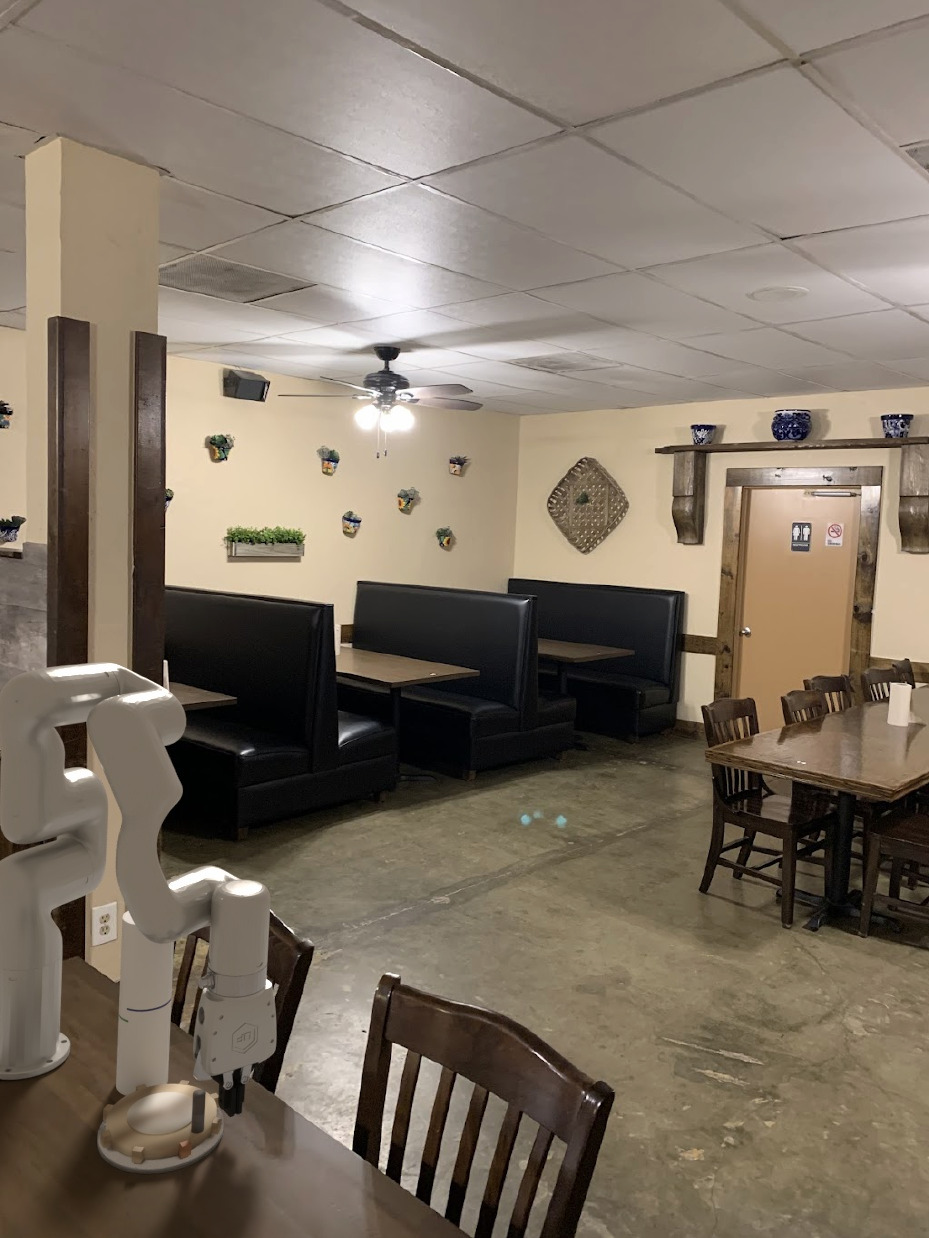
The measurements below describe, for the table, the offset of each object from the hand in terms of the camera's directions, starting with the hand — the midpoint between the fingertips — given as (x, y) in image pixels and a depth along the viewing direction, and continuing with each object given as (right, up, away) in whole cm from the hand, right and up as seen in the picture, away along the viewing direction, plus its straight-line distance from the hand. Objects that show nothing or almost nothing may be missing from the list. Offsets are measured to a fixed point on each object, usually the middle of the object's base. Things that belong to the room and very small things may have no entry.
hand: (230, 1109), depth 125 cm
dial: (-9, -2, 0) cm, 9 cm away
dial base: (-9, -3, 0) cm, 10 cm away
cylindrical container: (-16, -2, +11) cm, 20 cm away
